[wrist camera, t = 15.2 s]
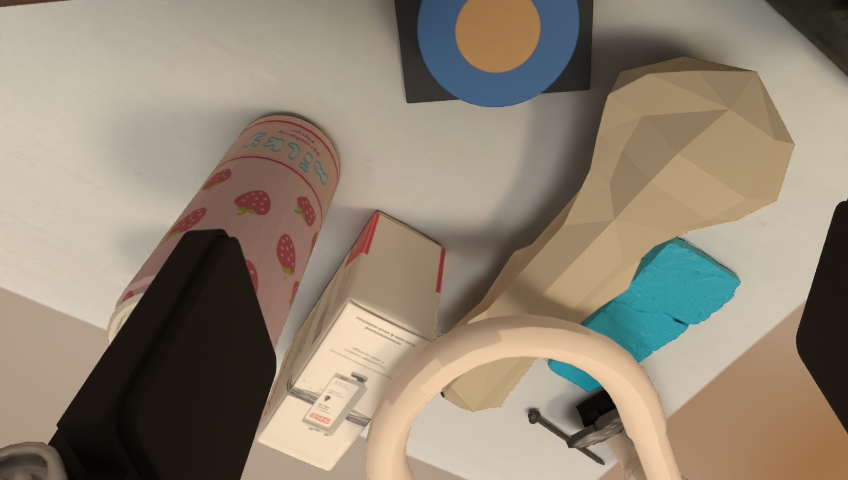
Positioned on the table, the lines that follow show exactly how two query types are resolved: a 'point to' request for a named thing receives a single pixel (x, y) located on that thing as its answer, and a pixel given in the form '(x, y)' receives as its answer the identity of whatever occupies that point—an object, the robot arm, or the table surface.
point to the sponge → (658, 304)
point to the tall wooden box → (24, 2)
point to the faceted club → (638, 198)
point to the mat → (428, 90)
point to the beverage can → (258, 213)
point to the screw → (558, 433)
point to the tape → (497, 46)
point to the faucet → (516, 337)
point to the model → (820, 25)
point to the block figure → (597, 421)
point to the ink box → (354, 343)
